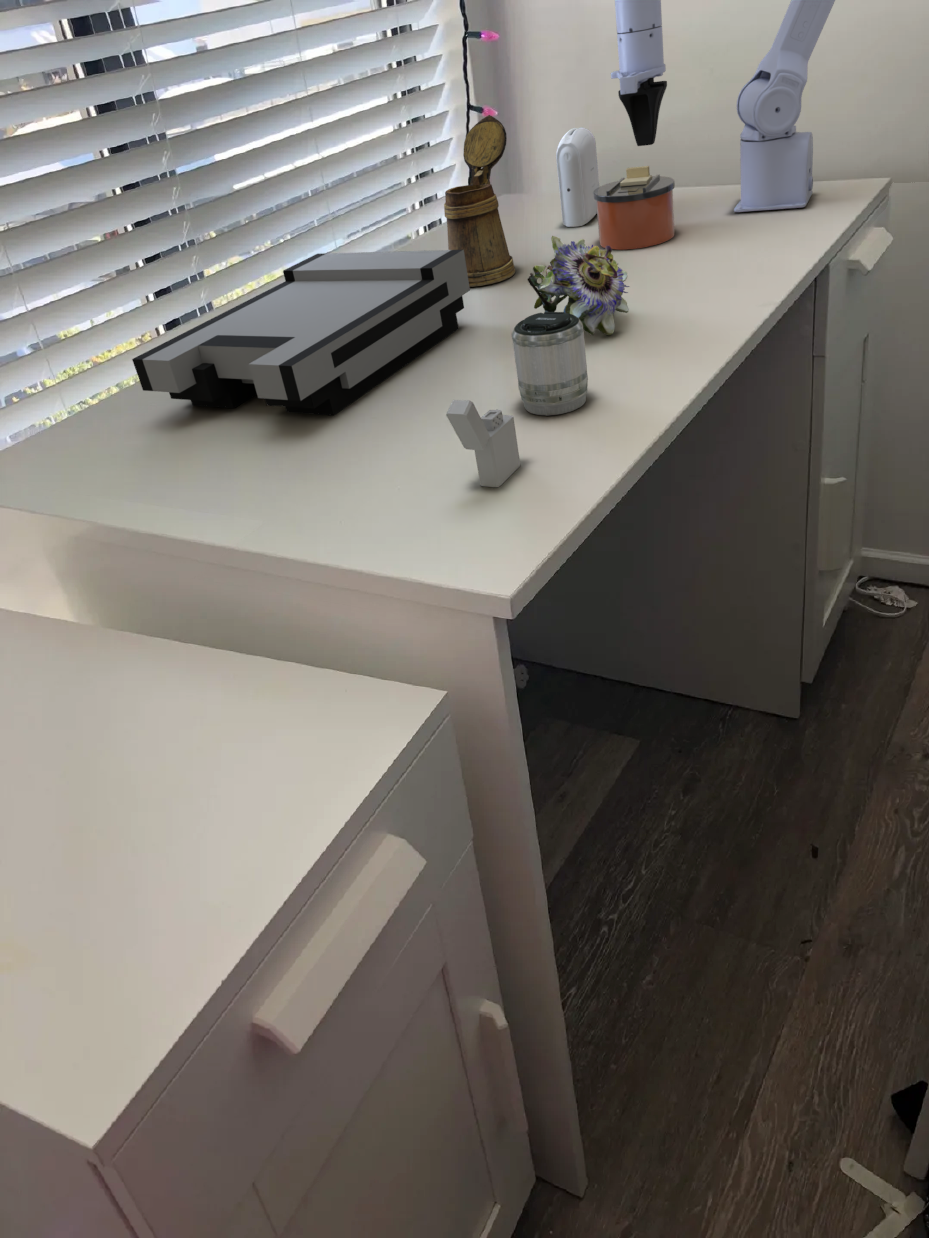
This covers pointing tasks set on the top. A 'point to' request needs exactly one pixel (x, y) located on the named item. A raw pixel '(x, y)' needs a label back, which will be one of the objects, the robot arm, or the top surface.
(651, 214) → the orange lidded canister
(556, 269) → the passion flower
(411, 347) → the game console
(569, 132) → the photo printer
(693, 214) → the top surface
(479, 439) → the lighter
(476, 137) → the wooden mug
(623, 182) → the slider
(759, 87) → the robot arm
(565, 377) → the camera lens
